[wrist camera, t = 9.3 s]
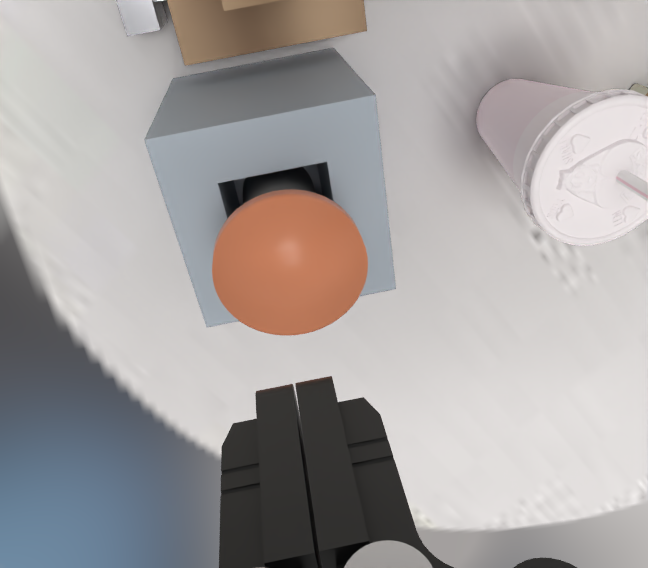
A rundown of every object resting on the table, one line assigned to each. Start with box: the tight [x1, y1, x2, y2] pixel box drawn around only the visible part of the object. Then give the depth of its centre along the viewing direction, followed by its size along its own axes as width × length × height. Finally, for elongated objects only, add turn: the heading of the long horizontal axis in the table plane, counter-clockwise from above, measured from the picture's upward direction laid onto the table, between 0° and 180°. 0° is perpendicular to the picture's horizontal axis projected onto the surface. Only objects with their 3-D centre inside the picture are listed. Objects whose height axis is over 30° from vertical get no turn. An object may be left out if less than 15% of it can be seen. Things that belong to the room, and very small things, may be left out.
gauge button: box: [212, 167, 368, 335], centre depth 21 cm, size 5×5×7 cm
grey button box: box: [145, 48, 396, 327], centre depth 26 cm, size 8×8×10 cm
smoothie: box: [476, 79, 648, 246], centre depth 25 cm, size 6×6×14 cm
